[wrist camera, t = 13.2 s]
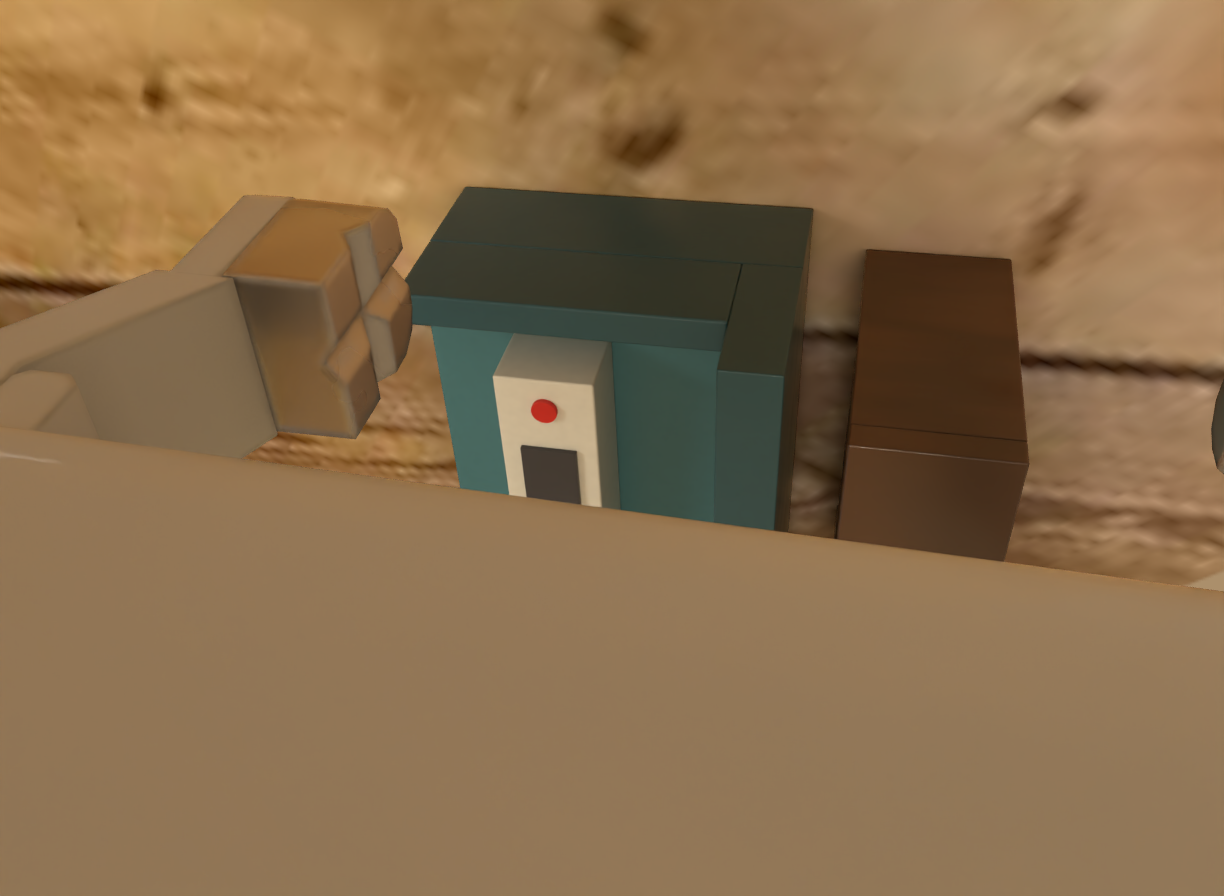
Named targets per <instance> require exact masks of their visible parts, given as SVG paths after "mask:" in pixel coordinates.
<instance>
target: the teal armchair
mask: <svg viewBox="0 0 1224 896" xmlns="http://www.w3.org/2000/svg"><path fill="white" fill-rule="evenodd" d="M812 220H813V209H804V208H789V207H773V206H758V205H742V204H726V203H711V202H695V201H680V200H664V199H648V198H633V197H617V196H601V195H586V194H570V193H555V192H539V191H523V190H508V189H492V188H476V187H465V188H464V190H463V191H462V193H461V194H460V196H459V197H458V199H457V200H456V202H455V203H454V205H453V206H452V208H451V209H450V211H449V212H448V214H447V216H446V217H445V219H444V220H443V222H442V223H441V225H440V226H439V228H438V229H437V231H436V232H435V234H434V235H433V237H432V238H431V240H430V241H431V242H429V244H428V245H427V247H426V248H425V250H424V251H423V253H422V254H421V256H420V257H419V259H418V260H417V262H416V263H415V265H414V266H413V268H412V270H411V271H410V273H409V274H408V276H407V277H406V279H405V280H404V281H405V282H406V283H407V284H408V285H409V288H410V295H411V301H412V324H415V325H427V326H431V328H432V334H433V339H434V345H435V350H436V356H437V361H438V367H439V372H440V378H441V383H442V389H443V394H444V400H445V406H446V411H447V417H448V422H449V428H450V433H451V439H452V444H453V450H454V455H455V461H456V466H457V472H458V477H459V483H460V488H462V489H469V490H477V491H484V492H491V493H499V494H506V495H509V489H508V481H507V474H506V467H505V460H504V453H503V446H502V439H501V432H500V425H499V418H498V411H497V404H496V397H495V389H494V382H493V375H494V373H495V371H496V369H497V366H498V364H499V362H500V360H501V358H502V356H503V354H504V352H505V350H506V348H507V346H508V344H509V342H510V340H511V338H512V336H513V334H514V333H516V334H527V335H538V336H550V337H561V338H572V339H583V340H594V341H605V342H611V344H612V363H613V381H614V399H615V418H616V436H617V454H618V472H619V491H620V509H621V510H624V511H632V512H639V513H647V514H654V515H661V516H669V517H676V518H683V519H691V520H698V521H706V522H713V523H720V524H728V525H735V526H743V527H750V528H757V529H765V530H772V531H779V532H787V533H788V528H789V515H790V503H791V490H792V477H793V464H794V451H795V438H796V425H797V412H798V400H799V387H800V374H801V361H802V348H803V335H804V322H805V310H806V297H807V284H808V271H809V258H810V245H811V232H812Z"/></svg>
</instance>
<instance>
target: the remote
mask: <svg viewBox="0 0 1224 896" xmlns="http://www.w3.org/2000/svg"><path fill="white" fill-rule="evenodd" d="M493 382H494V389H495V397H496V404H497V411H498V418H499V425H500V432H501V439H502V446H503V453H504V460H505V467H506V474H507V481H508V489H509V495H514V496H521V497H528V498H536V499H543V500H551V501H558V502H565V503H573V504H580V505H588V506H595V507H602V508H610V509H617V510H621V509H620V491H619V472H618V454H617V436H616V418H615V399H614V381H613V363H612V344H611V342H605V341H594V340H583V339H572V338H561V337H550V336H538V335H527V334H516V333H514V334H513V336H512V338H511V340H510V342H509V344H508V346H507V348H506V350H505V352H504V354H503V356H502V358H501V360H500V362H499V364H498V366H497V369H496V371H495V373H494V375H493Z"/></svg>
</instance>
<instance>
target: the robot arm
mask: <svg viewBox="0 0 1224 896" xmlns="http://www.w3.org/2000/svg"><path fill="white" fill-rule="evenodd" d="M402 249H403V247H402V242H401V237H400V232H399V227H398V222H397V219H396V218H395V216H394V215H393V214H392V213H391V211H390V210H389V209H388V208H380V207H370V206H361V205H352V204H343V203H334V202H325V201H316V200H307V199H295V198H293V197H283V196H267V195H246V196H243V197H242V198H241V199H240V200H239V201H238V202H237V203H236V204H235V205H234V206H233V207H232V208H231V209H230V210H229V211H228V212H227V213H226V214H225V215H224V216H223V217H222V218H221V219H220V220H219V222H218V223H217V224H216V225H215V226H214V227H213V228H212V229H211V230H210V231H209V232H208V233H207V234H206V235H205V236H204V237H203V238H202V239H201V240H200V241H199V242H198V243H197V244H196V245H195V246H194V247H193V248H192V249H191V250H190V251H189V252H188V253H187V254H186V256H185V257H184V258H183V259H182V260H181V261H180V262H179V263H178V264H177V265H176V266H175V267H174V268H173V269H172V270H171V271H163V270H155V271H152V272H149V273H147V274H144V275H141V276H139V277H136V278H133V279H131V280H128V281H125V282H123V283H120V284H117V285H115V286H112V287H109V288H107V289H104V290H101V291H99V292H96V293H93V294H91V295H88V296H85V297H83V298H80V299H77V300H75V301H72V302H69V303H67V304H64V305H61V306H59V307H56V308H53V309H51V310H48V311H45V312H43V313H40V314H37V315H35V316H32V317H29V318H27V319H24V320H22V321H19V322H16V323H14V324H11V325H8V326H6V327H3V328H0V896H1224V592H1223V591H1216V590H1209V589H1201V588H1194V587H1186V586H1179V585H1172V584H1164V583H1157V582H1149V581H1142V580H1135V579H1127V578H1120V577H1112V576H1105V575H1098V574H1090V573H1083V572H1075V571H1068V570H1061V569H1053V568H1046V567H1038V566H1031V565H1024V564H1016V563H1009V562H1001V561H994V560H987V559H979V558H972V557H964V556H957V555H950V554H942V553H935V552H927V551H920V550H913V549H905V548H898V547H890V546H883V545H876V544H868V543H861V542H853V541H846V540H839V539H831V538H824V537H816V536H809V535H802V534H794V533H787V532H779V531H772V530H765V529H757V528H750V527H743V526H735V525H728V524H720V523H713V522H706V521H698V520H691V519H683V518H676V517H669V516H661V515H654V514H647V513H639V512H632V511H624V510H617V509H610V508H602V507H595V506H588V505H580V504H573V503H565V502H558V501H551V500H543V499H536V498H528V497H521V496H514V495H506V494H499V493H491V492H484V491H477V490H469V489H462V488H455V487H447V486H440V485H432V484H425V483H418V482H410V481H403V480H395V479H388V478H381V477H373V476H366V475H359V474H351V473H344V472H336V471H329V470H322V469H314V468H307V467H299V466H292V465H285V464H277V463H270V462H263V461H255V460H248V459H242V458H243V457H245V456H246V455H248V454H250V453H251V452H253V451H254V450H256V449H257V448H259V447H260V446H262V445H263V444H265V443H266V442H268V441H269V440H271V439H272V438H274V437H275V436H277V431H280V432H290V433H300V434H310V435H320V436H330V437H339V438H349V439H356V438H357V436H358V435H359V433H360V431H361V430H362V428H363V426H364V425H365V423H366V422H367V420H368V418H369V417H370V415H371V413H372V412H373V410H374V408H375V407H376V405H377V403H378V402H379V400H380V394H379V388H378V383H377V382H379V381H380V380H382V379H384V378H386V377H388V376H390V375H392V374H394V373H396V372H397V370H398V368H399V367H400V365H401V363H402V361H403V359H404V358H405V356H406V354H407V349H408V345H409V341H410V337H411V332H412V301H411V295H410V288H409V285H408V284H407V283H406V282H405V281H404V279H403V278H402V277H401V276H400V275H399V274H398V272H397V271H396V270H395V269H394V268H393V267H392V264H393V263H394V261H395V260H396V258H397V257H398V255H399V254H400V252H401V250H402ZM1211 431H1212V450H1213V454H1214V458H1215V462H1216V466H1217V469H1218V470H1220V471H1221V472H1222V473H1223V474H1224V380H1223V383H1222V385H1221V388H1220V391H1219V393H1218V396H1217V399H1216V404H1215V410H1214V416H1213V422H1212V428H1211Z"/></svg>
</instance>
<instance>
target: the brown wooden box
mask: <svg viewBox="0 0 1224 896" xmlns="http://www.w3.org/2000/svg"><path fill="white" fill-rule="evenodd" d="M1028 467H1029V456H1028V445H1027V432H1026V421H1025V409H1024V398H1023V387H1022V375H1021V364H1020V352H1019V341H1018V330H1017V318H1016V307H1015V296H1014V284H1013V273H1012V262H1011V260H1003V259H989V258H975V257H961V256H946V255H932V254H918V253H904V252H889V251H875V250H867V251H866V260H865V268H864V277H863V287H862V297H861V308H860V318H859V328H858V339H857V348H856V356H855V365H854V373H853V382H852V391H851V399H850V408H849V417H848V425H847V434H846V443H845V451H844V460H843V469H842V477H841V486H840V494H839V503H838V505H837V512H836V521H835V530H834V539H839V540H846V541H853V542H861V543H868V544H876V545H883V546H890V547H898V548H905V549H913V550H920V551H927V552H935V553H942V554H950V555H957V556H964V557H972V558H979V559H987V560H994V561H1001V562H1004V560H1005V556H1006V552H1007V548H1008V544H1009V540H1010V536H1011V533H1012V529H1013V525H1014V521H1015V517H1016V513H1017V509H1018V505H1019V502H1020V498H1021V494H1022V490H1023V486H1024V482H1025V478H1026V475H1027V471H1028Z"/></svg>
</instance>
